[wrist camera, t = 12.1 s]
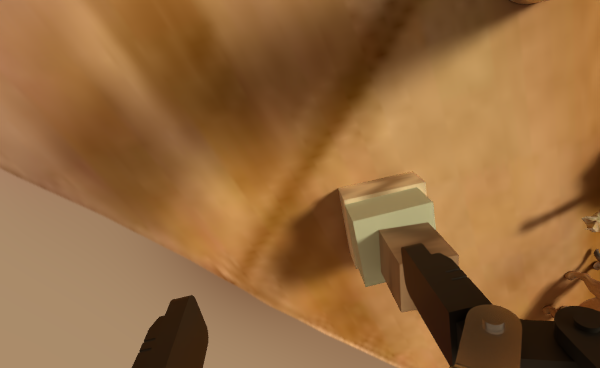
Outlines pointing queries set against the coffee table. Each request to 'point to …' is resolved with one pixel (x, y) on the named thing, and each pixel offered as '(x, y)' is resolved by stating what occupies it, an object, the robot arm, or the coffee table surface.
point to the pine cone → (593, 222)
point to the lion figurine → (594, 286)
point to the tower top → (383, 225)
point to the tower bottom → (376, 194)
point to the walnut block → (392, 257)
